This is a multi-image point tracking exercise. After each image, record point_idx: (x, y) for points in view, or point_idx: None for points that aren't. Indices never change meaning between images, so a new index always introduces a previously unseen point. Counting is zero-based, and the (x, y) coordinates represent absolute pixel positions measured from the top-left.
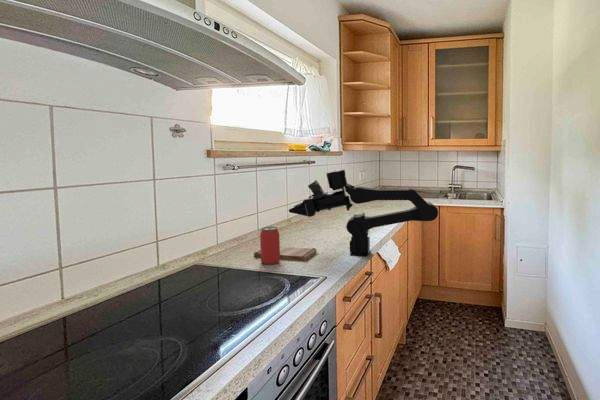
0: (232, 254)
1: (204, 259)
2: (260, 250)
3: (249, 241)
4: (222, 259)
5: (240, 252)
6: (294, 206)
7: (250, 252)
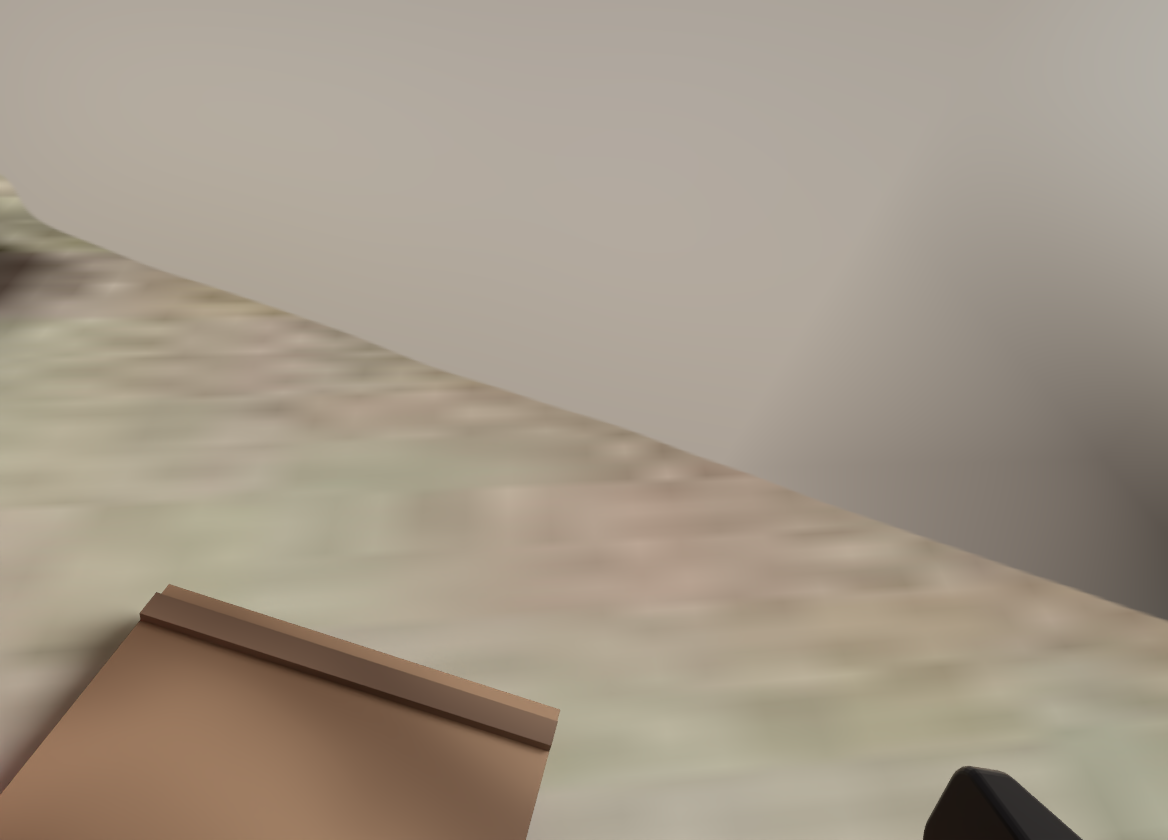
0: (343, 443)
1: (204, 300)
2: (241, 641)
3: (880, 537)
4: (160, 389)
5: (418, 493)
6: (965, 787)
7: (409, 572)
